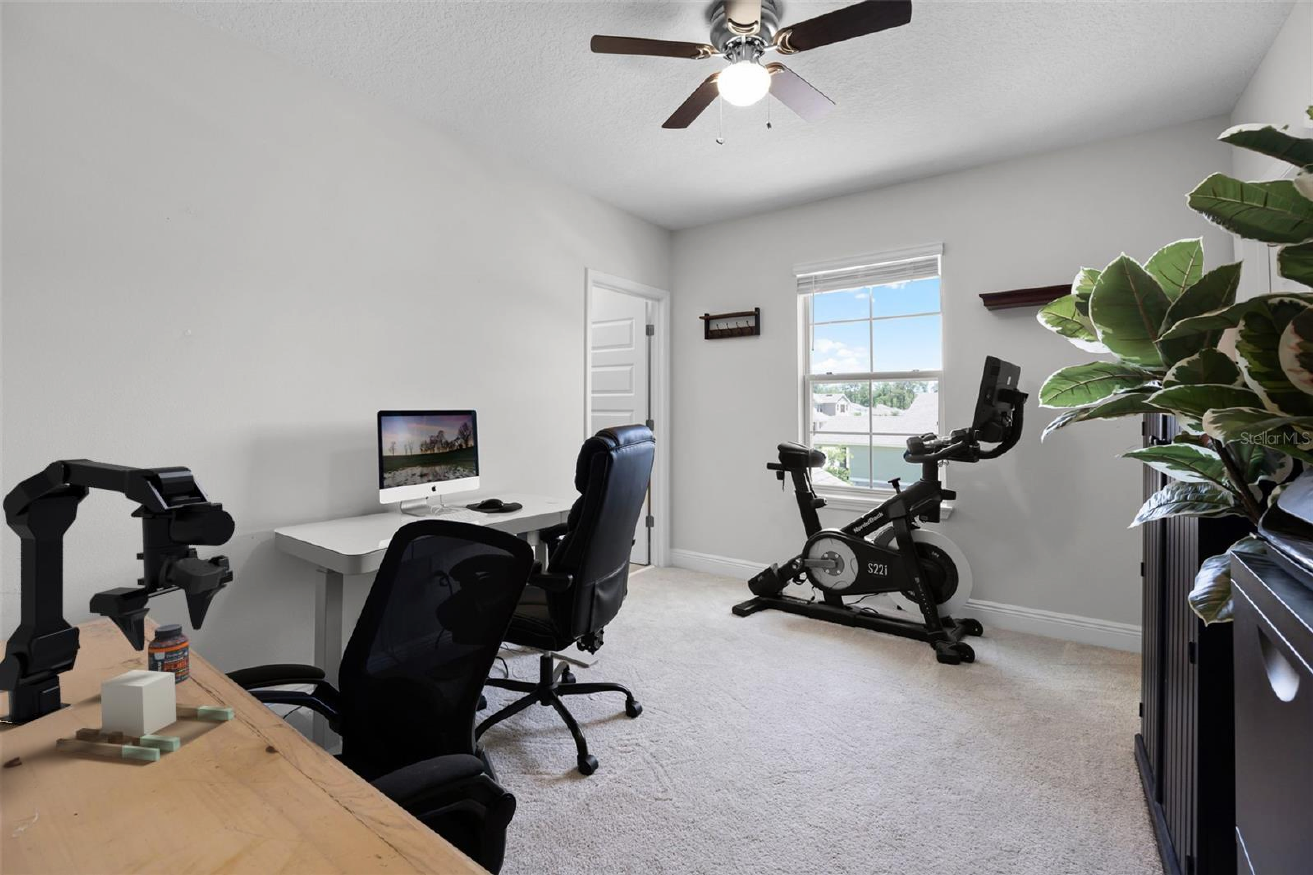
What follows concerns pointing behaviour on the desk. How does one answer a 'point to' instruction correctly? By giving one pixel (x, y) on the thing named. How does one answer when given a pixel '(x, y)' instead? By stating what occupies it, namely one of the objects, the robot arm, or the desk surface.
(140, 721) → the block
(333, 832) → the desk surface
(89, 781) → the desk surface
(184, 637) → the supplement bottle
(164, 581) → the robot arm
